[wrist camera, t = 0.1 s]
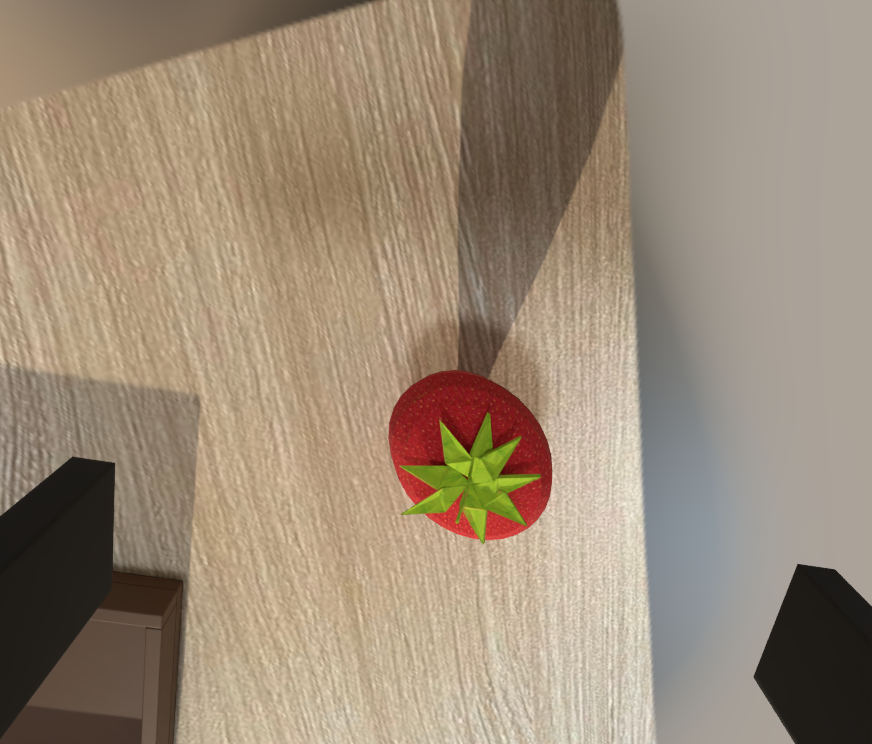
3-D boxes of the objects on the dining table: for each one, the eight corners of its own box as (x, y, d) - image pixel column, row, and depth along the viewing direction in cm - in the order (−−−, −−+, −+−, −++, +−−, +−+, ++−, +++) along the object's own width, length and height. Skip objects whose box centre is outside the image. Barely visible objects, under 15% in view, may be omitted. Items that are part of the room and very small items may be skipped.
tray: (-110, 542, 33) (-157, 575, 30) (183, 580, 34) (162, 615, 31) (-87, 790, 38) (-126, 838, 35) (168, 818, 39) (149, 866, 36)
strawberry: (464, 497, 33) (480, 633, 23) (365, 387, 31) (338, 486, 22) (560, 427, 32) (617, 540, 22) (463, 309, 30) (480, 377, 20)
